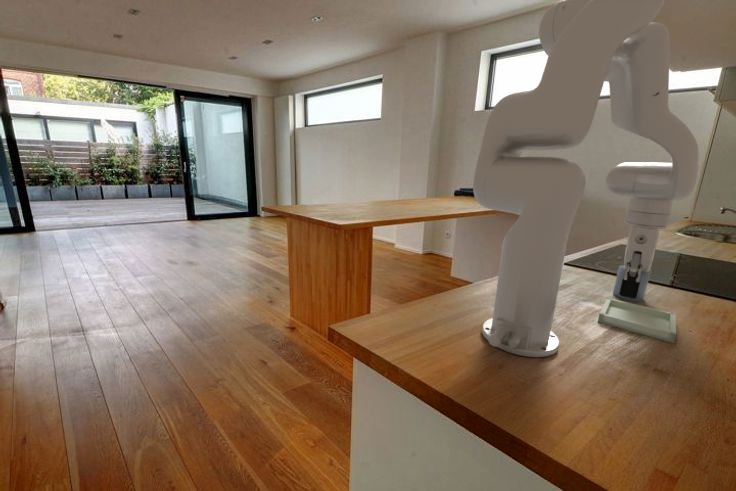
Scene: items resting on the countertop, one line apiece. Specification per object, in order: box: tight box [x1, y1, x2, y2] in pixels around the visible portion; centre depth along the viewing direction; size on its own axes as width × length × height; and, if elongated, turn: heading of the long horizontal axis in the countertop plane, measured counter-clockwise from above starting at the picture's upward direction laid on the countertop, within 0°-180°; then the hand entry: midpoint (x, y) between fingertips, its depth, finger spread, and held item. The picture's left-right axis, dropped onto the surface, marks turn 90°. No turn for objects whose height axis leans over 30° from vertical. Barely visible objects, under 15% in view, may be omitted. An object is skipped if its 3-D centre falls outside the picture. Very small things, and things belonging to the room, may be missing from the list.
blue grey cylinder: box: [612, 264, 651, 303], centre depth 81 cm, size 6×6×7 cm
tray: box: [597, 297, 677, 344], centre depth 68 cm, size 12×12×2 cm
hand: (628, 292), depth 82 cm, fingers closed on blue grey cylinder, 6 cm apart
